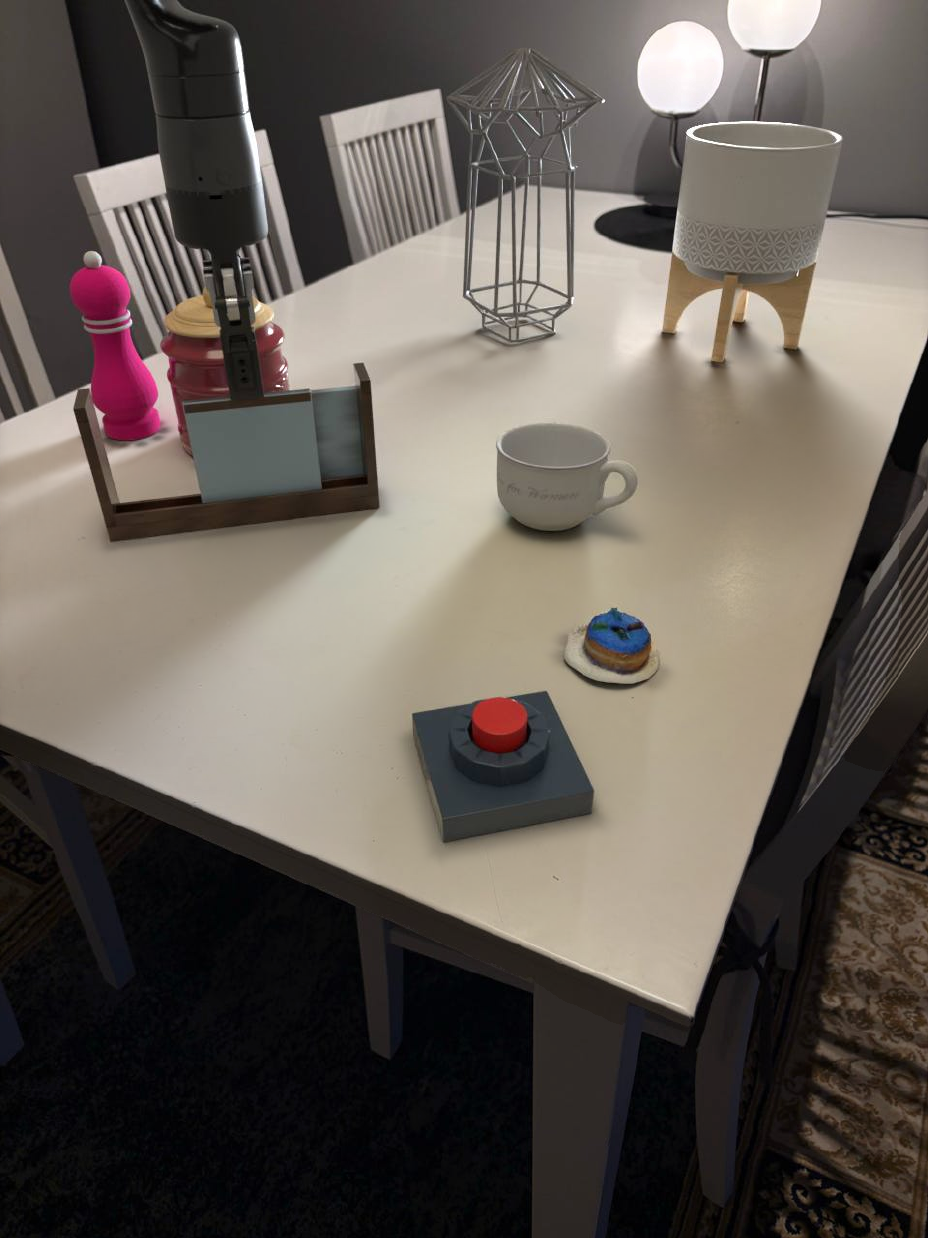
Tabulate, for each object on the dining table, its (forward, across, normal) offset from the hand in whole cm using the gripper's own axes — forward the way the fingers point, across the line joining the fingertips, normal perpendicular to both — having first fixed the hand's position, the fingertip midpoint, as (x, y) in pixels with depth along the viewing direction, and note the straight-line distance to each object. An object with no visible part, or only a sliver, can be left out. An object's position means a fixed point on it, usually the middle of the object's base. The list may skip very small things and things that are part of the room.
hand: (245, 385), depth 82 cm
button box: (+14, +39, +13) cm, 43 cm away
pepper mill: (+14, -24, -14) cm, 31 cm away
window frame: (+14, -1, -2) cm, 14 cm away
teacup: (+14, +8, +28) cm, 32 cm away
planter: (+14, -34, +67) cm, 77 cm away
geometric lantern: (+14, -45, +39) cm, 61 cm away
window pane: (+12, 0, 0) cm, 12 cm away
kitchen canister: (+14, -18, -2) cm, 23 cm away
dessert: (+14, +29, +25) cm, 41 cm away
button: (+10, +39, +13) cm, 42 cm away
